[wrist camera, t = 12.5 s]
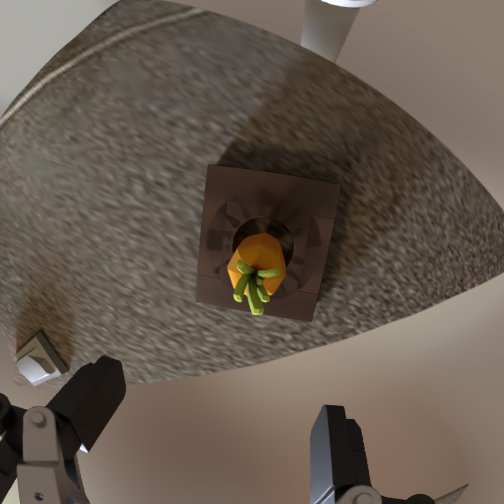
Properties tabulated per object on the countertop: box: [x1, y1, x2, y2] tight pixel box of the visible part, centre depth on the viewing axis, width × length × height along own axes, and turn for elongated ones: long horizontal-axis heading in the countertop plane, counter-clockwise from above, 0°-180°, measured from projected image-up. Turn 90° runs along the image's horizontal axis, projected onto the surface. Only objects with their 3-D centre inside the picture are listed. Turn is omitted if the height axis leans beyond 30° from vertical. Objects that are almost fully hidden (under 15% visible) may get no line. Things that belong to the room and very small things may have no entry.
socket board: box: [196, 165, 341, 322], centre depth 32 cm, size 16×14×3 cm
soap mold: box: [13, 331, 69, 386], centre depth 46 cm, size 10×20×4 cm, turn 121°
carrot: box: [227, 232, 286, 315], centre depth 26 cm, size 5×5×15 cm
